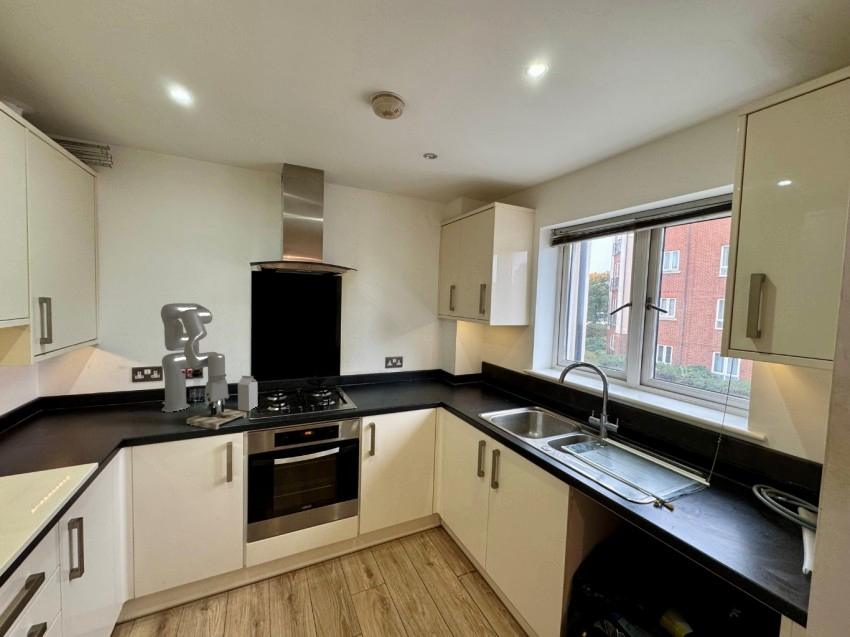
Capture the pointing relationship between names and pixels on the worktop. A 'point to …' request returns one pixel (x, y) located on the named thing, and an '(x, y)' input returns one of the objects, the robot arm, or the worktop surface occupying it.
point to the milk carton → (247, 393)
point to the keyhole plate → (214, 419)
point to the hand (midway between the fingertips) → (217, 413)
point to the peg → (218, 410)
